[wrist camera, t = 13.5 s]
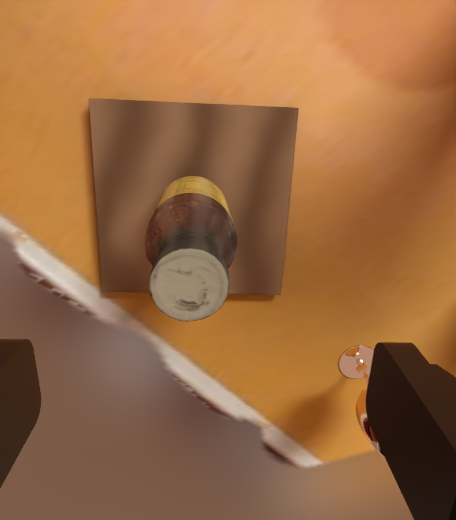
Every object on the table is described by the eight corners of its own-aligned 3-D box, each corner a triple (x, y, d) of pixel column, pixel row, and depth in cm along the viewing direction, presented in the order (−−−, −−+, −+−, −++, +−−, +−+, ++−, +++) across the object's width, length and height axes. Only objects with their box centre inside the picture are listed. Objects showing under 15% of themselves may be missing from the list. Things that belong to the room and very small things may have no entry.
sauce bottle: (200, 250, 41) (196, 372, 23) (146, 212, 40) (94, 310, 21) (242, 197, 40) (274, 281, 21) (187, 155, 38) (170, 207, 19)
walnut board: (295, 107, 38) (298, 108, 37) (278, 288, 45) (280, 294, 43) (93, 98, 37) (88, 98, 36) (105, 285, 44) (101, 291, 42)
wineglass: (346, 334, 47) (389, 408, 36) (391, 348, 48) (447, 424, 37) (325, 375, 49) (359, 458, 38) (369, 388, 50) (416, 471, 39)
